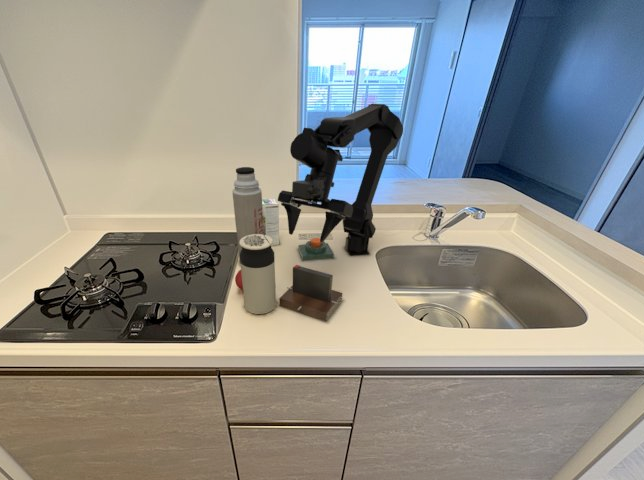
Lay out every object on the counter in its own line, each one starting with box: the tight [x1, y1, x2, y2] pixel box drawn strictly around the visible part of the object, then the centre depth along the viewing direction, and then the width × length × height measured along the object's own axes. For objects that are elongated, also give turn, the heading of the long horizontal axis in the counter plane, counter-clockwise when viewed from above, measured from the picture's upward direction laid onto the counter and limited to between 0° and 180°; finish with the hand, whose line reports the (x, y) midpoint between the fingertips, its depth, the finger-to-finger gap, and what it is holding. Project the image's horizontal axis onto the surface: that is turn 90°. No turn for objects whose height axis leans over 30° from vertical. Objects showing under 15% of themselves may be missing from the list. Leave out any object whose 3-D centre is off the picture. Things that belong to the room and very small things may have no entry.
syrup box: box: [262, 198, 280, 246], centre depth 109 cm, size 6×6×14 cm
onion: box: [234, 269, 243, 291], centre depth 86 cm, size 6×6×8 cm
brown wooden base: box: [278, 284, 343, 322], centre depth 83 cm, size 14×14×3 cm
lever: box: [292, 264, 334, 302], centre depth 80 cm, size 10×2×7 cm, turn 60°
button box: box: [297, 240, 335, 261], centre depth 105 cm, size 10×8×4 cm
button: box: [309, 237, 322, 247], centre depth 104 cm, size 4×4×2 cm
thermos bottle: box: [231, 166, 264, 266], centre depth 93 cm, size 8×8×28 cm
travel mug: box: [239, 234, 277, 315], centre depth 77 cm, size 8×8×18 cm
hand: (305, 238), depth 81 cm, fingers open, 9 cm apart
